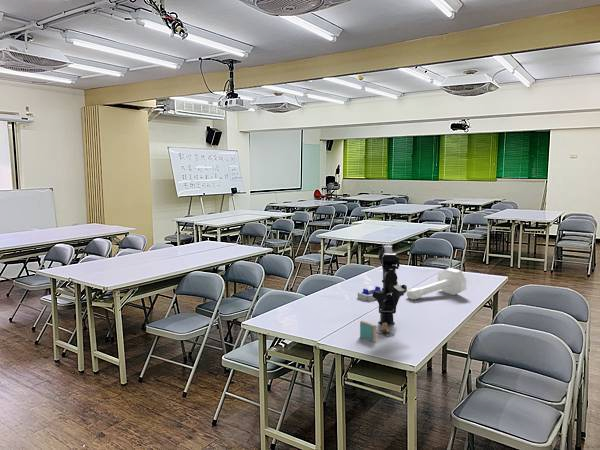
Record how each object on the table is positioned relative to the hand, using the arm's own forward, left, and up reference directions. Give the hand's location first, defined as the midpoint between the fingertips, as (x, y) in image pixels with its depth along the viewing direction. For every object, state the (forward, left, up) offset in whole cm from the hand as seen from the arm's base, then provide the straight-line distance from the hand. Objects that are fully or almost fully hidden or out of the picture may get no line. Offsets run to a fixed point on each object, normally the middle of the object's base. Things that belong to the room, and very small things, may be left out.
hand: (389, 308), depth 229 cm
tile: (-2, -12, -13) cm, 18 cm away
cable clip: (-52, +41, -13) cm, 67 cm away
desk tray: (-52, +41, -13) cm, 67 cm away
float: (-2, -1, -13) cm, 13 cm away
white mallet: (-27, +76, -13) cm, 81 cm away
